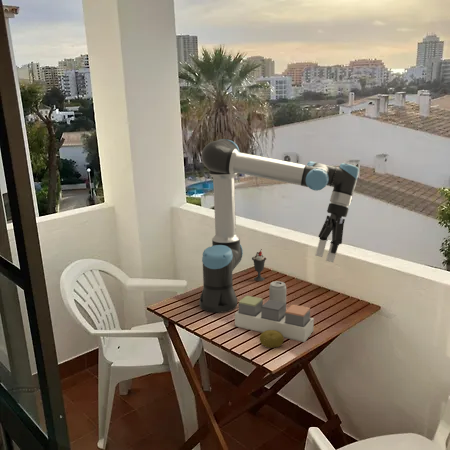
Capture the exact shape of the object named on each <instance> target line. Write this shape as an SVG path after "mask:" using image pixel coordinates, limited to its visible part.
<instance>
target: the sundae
mask: <svg viewBox="0 0 450 450" xmlns="http://www.w3.org/2000/svg"><path fill="white" fill-rule="evenodd" d="M266 260H267V258H266V257H265V255H264V253H263V252H262V249H261V248H260V250H259V252H256V254H255V255H254V256H253V257H251V261H253V265H254V270H255V271H256V273H257V276H256V277H254V278H253V280H254V281H257V282H262V281H265V278H264V277H262V275H261V272H263V270H264V268H265V262H266Z"/></svg>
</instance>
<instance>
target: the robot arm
mask: <svg viewBox="0 0 450 450" xmlns="http://www.w3.org/2000/svg"><path fill="white" fill-rule="evenodd" d="M201 160H202V164H203V165H204V167H205V168H207V169H208V173H209V176H211V177H212V179H213V180H212V181H213V185H212V186H213V204H214V207H213V208H214V210H213V211H214V229H215V230H214V231H215V235H214V236H213V237H212V238H211V242H212V243H211V246H208V247H206V248H205V249H204V250H203V251H202V257H201V262H202V282H203V283H202V284H203V287H202V292H201V295H200V298H199V307H200V309H202V310H203V311H206V312H209V313H226V312H229V311H233V310H235V309H236V308H237V307H238V297H237V296H236V292H235V289H234V287H233V284H234V283H233V281H234V280H233V271H234V270H235V269H236V267H237V266H238V265H239V264H240V263H241V261H242V258H243V254H244V250H243V247H242V245H241V238H240V236H239V235H238V234H237V225H236V224H237V222H236V195H235V194H236V193H235V188H236V187H235V177H236V176H237V175H238V174H241V175H247V176H250V177H251V176H252V177H257V178H260V179H267V180H271V181H277V182H282V183H286V184H291V185H292V184H293V185H297V186H302V187H306V188H309V189H310V190H312V191H315V192H317V191H321V190H323V189H325V187H332V188H333V189H332V192H331V194H330V199H329V202H330V203H328V205H327V206H328V207H327V210H326V212H327V213H328V214H330V215H326V217H325V221H324V223H323V224H322V227H321V229H320V231H319V234H318V238H319V240H318V243H317V248H316V251H315V256H316V257H320V258H323V256H324V252H325V249H326V246H327V242H328V240H329V239H328V238H329V236H330V234H331V241H330V243H329V244H330V245H329V249H328V252H327V255H326V259H325V261H326V262H330V263H335V262H334V261H335V259H336V255H337V251H338V248H339V246H340V245H342V244H343V234H344V227H345V226H344V225H345V220H346V219H345V218H347V216H348V213H349V210H350V208H349V206H350V205H351V202H352V201H353V199H352V198H353V195H354V192H355V189H356V185H357V183H358V182H357V181H358V177H359V173H360V169H359V167H358V166H356V165H353V164H350V163H345V162H342V163H340V164H339V166H338V167H337V166H331V165H328V164H324V163H320V162H318V161H308V162H307V164H306V165H305V164H301V163H298V162H297V163H295V162H292V161H286V160H281V159H277V158H270V157H266V156H262V155H261V156H260V155H255V154H251V153H246V152H240V149H239V146H238V145H237V143H236V142H235V141H233V140H230V139H228V138H227V139H225V138H222V139H218V140H214V141H210V142H209V143H207V144H206V145H205V146H204V147H203V149H202V151H201ZM342 217H343V218H342Z"/></svg>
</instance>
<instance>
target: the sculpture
mask: <svg viewBox="0 0 450 450" xmlns="http://www.w3.org/2000/svg"><path fill="white" fill-rule="evenodd" d="M284 339H285V338H284V337H283V335H282V334H281V333H280V332H278V331H276V330H272V331H271V330H267V331H264V332H263V333H262V332H261V333H260V335H259V342H260V344H261V345H262V346H263V347H265V348H269V349H275V348H278V347H281V346H282V345H283V343H284V342H285V341H284Z"/></svg>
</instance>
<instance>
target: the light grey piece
mask: <svg viewBox="0 0 450 450" xmlns="http://www.w3.org/2000/svg"><path fill="white" fill-rule="evenodd" d="M314 322H315V319H314V318H313V317H310V321H309V322H308V323H307V324H306V326H305V327H300V326H295V325H291V324H286V323H285V317H284V318H283V319H282V320H281V321H280V322H277V321H273V320H268V319H263V318H261V312H260V313H259V314H258V315H257V316H256V317H254V316H250V315H245V314H241V313H239V309H238V310H237V311H236V312H234V327H236V328H237V327H238V328H242V329H245V330H251V331H255V332H259V333H261V334H262V333H263V332H264V331H267V330H271V331H272V330H276V331H278V332H280V333H281V334H282V335H283V338H284V339H289V340H294V341H297V342H301V343H306V342H307V340H308V339H309V338H308V337H310V336H311V335H312V334H313V333H314V324H315V323H314ZM312 332H313V333H312ZM311 333H312V334H311Z"/></svg>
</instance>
